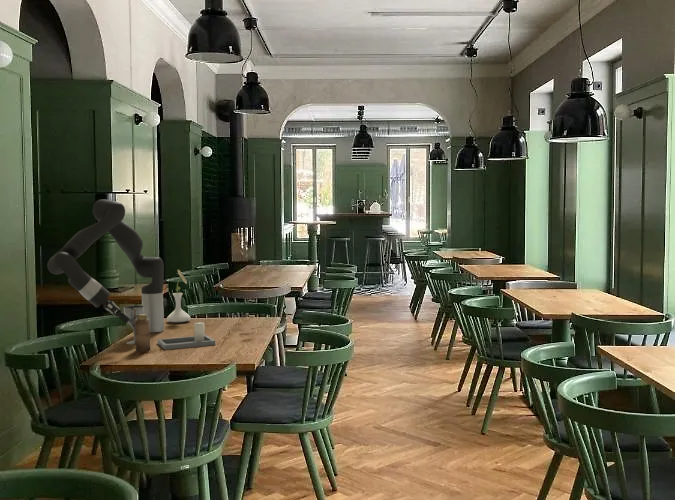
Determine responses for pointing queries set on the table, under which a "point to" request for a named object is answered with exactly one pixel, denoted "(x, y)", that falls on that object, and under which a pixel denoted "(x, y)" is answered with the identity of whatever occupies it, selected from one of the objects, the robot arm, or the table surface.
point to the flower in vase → (178, 306)
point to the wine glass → (133, 316)
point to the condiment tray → (184, 342)
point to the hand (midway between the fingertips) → (126, 319)
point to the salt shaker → (199, 331)
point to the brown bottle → (142, 333)
